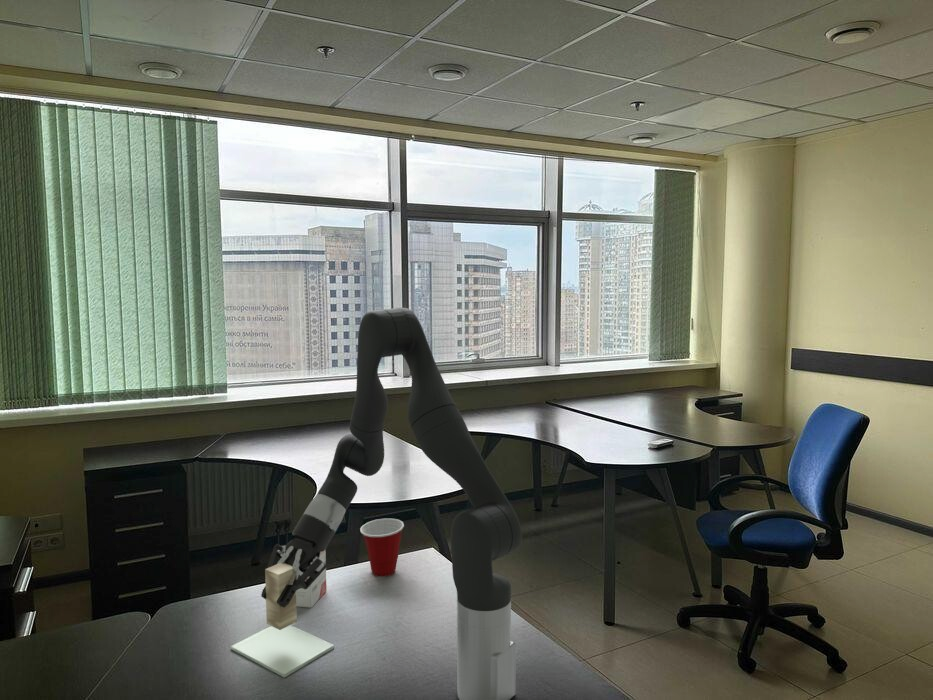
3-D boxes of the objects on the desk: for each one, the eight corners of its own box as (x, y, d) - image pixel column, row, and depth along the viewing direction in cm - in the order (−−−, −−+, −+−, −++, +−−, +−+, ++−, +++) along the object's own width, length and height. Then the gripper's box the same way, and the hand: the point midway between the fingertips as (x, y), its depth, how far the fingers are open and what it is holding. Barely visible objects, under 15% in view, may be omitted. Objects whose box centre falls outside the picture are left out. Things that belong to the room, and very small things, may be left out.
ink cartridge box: (307, 589, 152) (305, 528, 151) (327, 591, 151) (325, 529, 150) (290, 606, 144) (288, 542, 142) (311, 608, 143) (309, 543, 141)
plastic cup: (355, 567, 164) (354, 521, 163) (396, 560, 169) (395, 515, 167) (367, 585, 154) (366, 536, 153) (410, 576, 159) (410, 529, 158)
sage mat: (334, 648, 127) (334, 645, 127) (284, 677, 117) (284, 674, 117) (281, 623, 136) (281, 620, 136) (231, 649, 127) (231, 646, 126)
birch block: (296, 621, 127) (295, 567, 126) (280, 630, 124) (278, 574, 123) (283, 615, 129) (281, 562, 128) (266, 623, 126) (265, 569, 125)
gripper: (286, 506, 135) (237, 584, 126) (334, 520, 126) (285, 605, 118) (306, 523, 139) (261, 599, 131) (354, 538, 131) (308, 620, 123)
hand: (272, 601), depth 124 cm, fingers closed on birch block, 4 cm apart
